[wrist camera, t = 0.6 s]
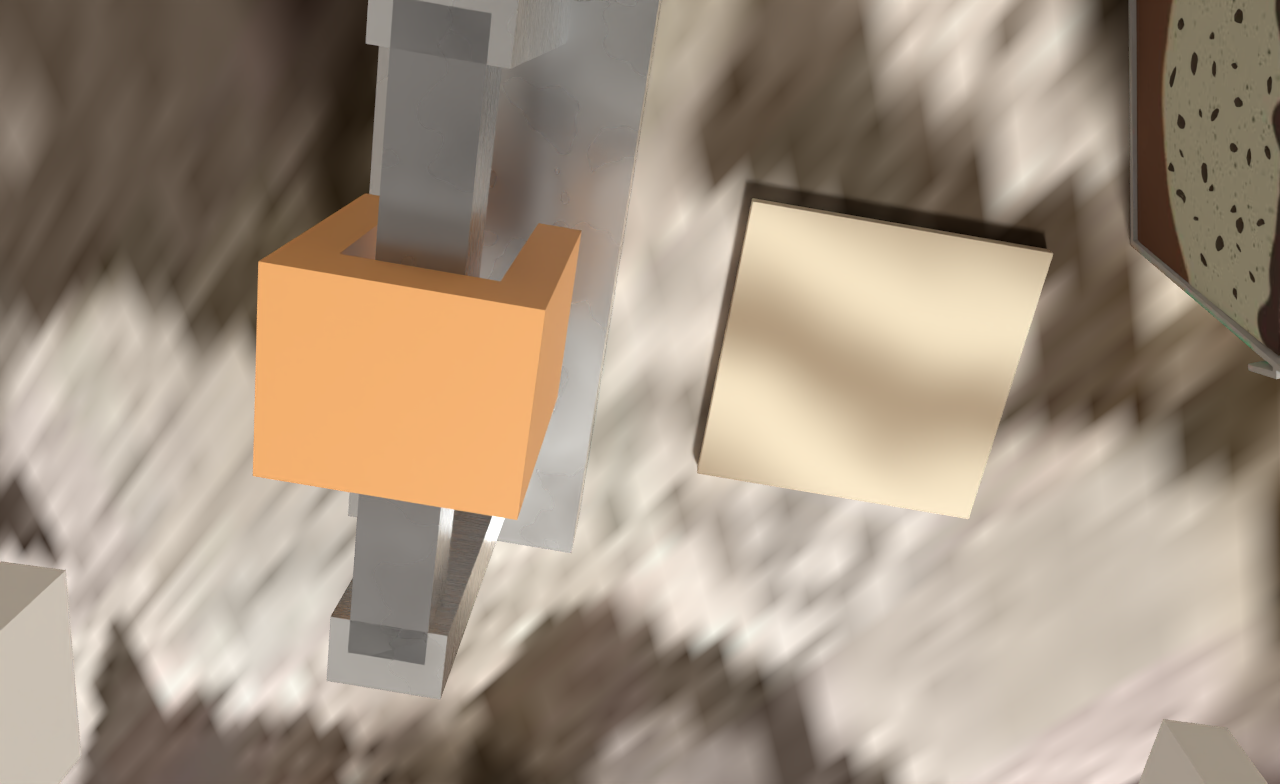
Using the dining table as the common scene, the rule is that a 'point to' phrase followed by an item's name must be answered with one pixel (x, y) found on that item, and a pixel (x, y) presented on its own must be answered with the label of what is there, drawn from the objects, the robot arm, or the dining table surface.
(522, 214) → the rail stand
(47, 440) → the dining table surface
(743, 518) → the dining table surface
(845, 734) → the dining table surface
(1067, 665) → the dining table surface
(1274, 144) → the food container
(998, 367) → the pad
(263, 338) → the orange notched sleeve
